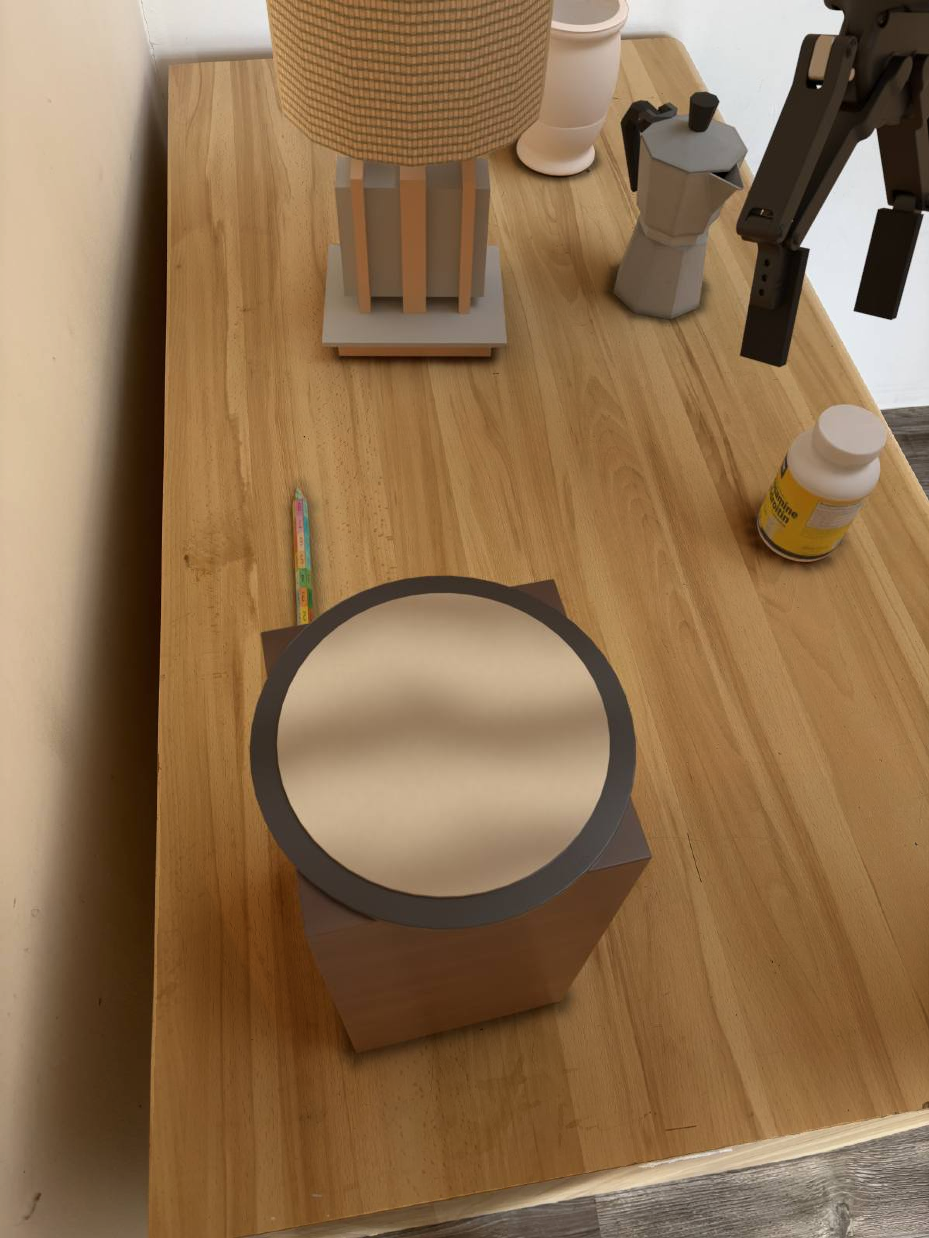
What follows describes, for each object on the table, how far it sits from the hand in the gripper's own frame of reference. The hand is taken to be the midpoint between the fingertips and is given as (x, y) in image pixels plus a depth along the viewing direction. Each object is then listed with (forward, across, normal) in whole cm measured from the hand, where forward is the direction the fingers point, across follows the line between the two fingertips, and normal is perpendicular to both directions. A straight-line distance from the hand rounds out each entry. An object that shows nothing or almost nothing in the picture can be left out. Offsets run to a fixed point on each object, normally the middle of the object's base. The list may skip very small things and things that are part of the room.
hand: (822, 336), depth 59 cm
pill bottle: (+17, -6, -2) cm, 18 cm away
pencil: (+18, +26, -23) cm, 39 cm away
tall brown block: (+28, +34, +1) cm, 44 cm away
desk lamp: (+7, +2, -39) cm, 39 cm away
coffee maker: (+5, -18, -27) cm, 33 cm away
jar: (-3, -25, -47) cm, 53 cm away
